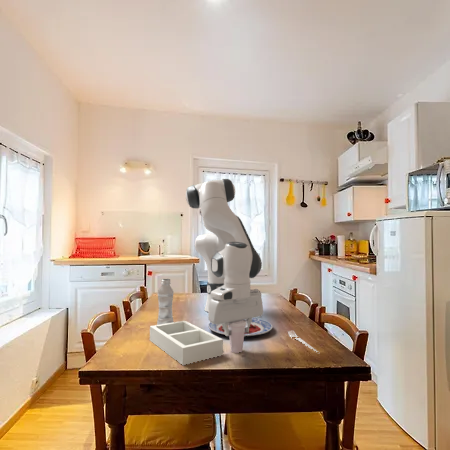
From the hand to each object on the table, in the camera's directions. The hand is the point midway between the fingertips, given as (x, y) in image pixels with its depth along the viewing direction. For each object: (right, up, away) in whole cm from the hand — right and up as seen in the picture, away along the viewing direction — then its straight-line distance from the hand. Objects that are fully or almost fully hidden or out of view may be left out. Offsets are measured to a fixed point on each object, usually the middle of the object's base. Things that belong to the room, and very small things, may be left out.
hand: (236, 333), depth 102 cm
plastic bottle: (-28, -7, +23) cm, 37 cm away
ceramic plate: (+2, -7, +23) cm, 24 cm away
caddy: (-18, -6, +3) cm, 19 cm away
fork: (+24, -7, +8) cm, 26 cm away
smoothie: (0, -6, 0) cm, 6 cm away
